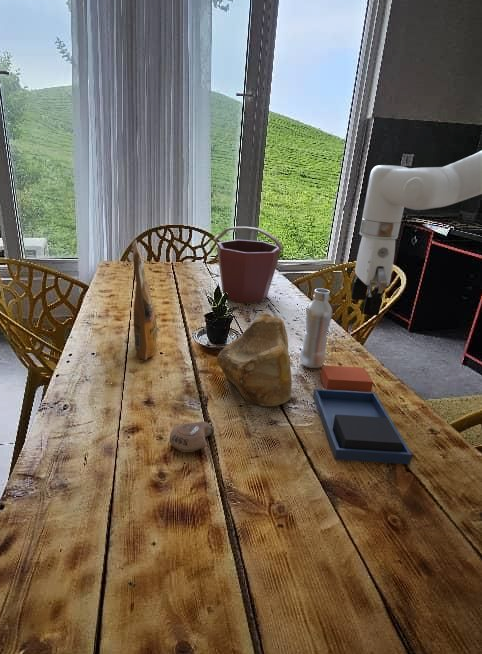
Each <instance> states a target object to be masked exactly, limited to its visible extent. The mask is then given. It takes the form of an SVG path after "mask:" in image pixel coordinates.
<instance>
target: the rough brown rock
mask: <svg viewBox="0 0 482 654" xmlns="http://www.w3.org/2000/svg"><path fill="white" fill-rule="evenodd" d="M216 364H217V365H218V367H220V369H221V370H222V372H223V374H224V376H225V377H226V379H228V381H229V382H231V383H232V384H233V385H234V386H235V388H236V389H237V390H238V391H239V393H240V394H241V396H242V398H243V399H244V400H245V401H246V402H247V403H249V404H250V405H254V404H256V405H258V406H261V407H278V406H280V405H283V404H285V403H287V402H289V400H290V399H291V396H292V368H291V358H290V353H289V338H288V334H287V329H286V325H285V322H284V321H283V320H282V318H280V317H278V316H274V315H273V316H271V315H270V314H268V313H267V312H261V313H259V314H258V315H257V316H256V318H255V319H254V320H253V321H252V323H250V325H249V327H247V328H246V330H244V331H243V333H242V334H241V335H240V336H239V337H238V338H236V339H235V340H233V341H232V342H230V343H228V344H227V345H225V346H224V347H223V349H221V351H219V353H218V355H217V357H216Z"/></svg>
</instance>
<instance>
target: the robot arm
mask: <svg viewBox="0 0 482 654" xmlns="http://www.w3.org/2000/svg"><path fill="white" fill-rule="evenodd" d="M480 195H482V150H480V151H477V152H476V153H474V154H472V155H469V156H467V157H464V158H462V159H459V160H457V161H455V162H452V163H449V164H447V165H444V166H439V167H438V166H433V167H432V166H430V167H429V166H427V167H426V166H425V167H424V166H423V167H413V168H412V167H407V166H402V165H389V164H380V165H375V166H374V167H373V168H372V169H371V171H370V174H369V179H368V184H367V189H366V196H365V199H364V206H363V211H362V216H361V217H362V219H361V222H360V226H359V227H360V228H359V233H358V234H359V235H360V236H361V240H360V243H359V248H358V252H357V256H356V263H355V267H354V273H355V275H354V278H353V285H352V289H351V296H350V298H351V300H354V301H355V300H357V301H364V304H363V309H362V314H363V315H364V316H379V315H380V311H381V306H382V301H383V298H384V294H385V292H386V288H387V287H389V286H390V283H391V278H392V274H393V265H394V261H395V252H396V240H397V239H398V238H399V233H400V228H401V224H402V219H403V214H404V209H405V208H406V209H409V210H414V211H424V210H425V211H426V210H431V209H437V208H438V209H439V208H443V207H448V206H450V205H451V206H452V205H454V204H457V203H461V202H463V201H466V200H469V199H472V198H474V197H477V196H480Z"/></svg>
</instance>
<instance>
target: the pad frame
mask: <svg viewBox="0 0 482 654" xmlns="http://www.w3.org/2000/svg"><path fill="white" fill-rule="evenodd" d="M312 395H313V396H312V398H313V401H314V403H315V407H316V409H317V412H318V415H319V418H320V420H321V424H322V427H323V429H324V430H323V431H324V432H325V435H326V438H327V441H328V444H329V448H330V449H331V450H330V451H331V453H332V456H333V457H334V460H339V461H353V462H354V461H355V462H368V463H382V464H383V463H385V464H400V465H410V464H411V463H412V458H413V453H412V451H411V450H410V449H409V447H408V445H407V444H406V442H405V440H404V438H403V437H402V436H401V434H400V432H399V430H398V428H397V426H396V425H395V423H394V421H393V420H392V418H391V417H390V415H389V414H388V412H387V410H386V408H385V407H384V405H383V404H382V402H381V401H380V399H379V397H378V395H377V394H376V392H375V391H374V392H373V391H371V392H358V391H342V390H326V389H325V388H314V389H313V394H312ZM335 414H337V415H353V416H369V417H385V418H388V420H389V421H390V423H391V425H392V426H393V428H394V430H395V431H396V433H397V435H398V437H399V438H400V440H401V442H402V447H401V451H400V452H391V451H376V450H360V449H345V448H339V445H338V442H337V440H336V437H335V434H334V432H333V424H334V419H335Z"/></svg>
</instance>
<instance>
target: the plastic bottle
mask: <svg viewBox="0 0 482 654" xmlns="http://www.w3.org/2000/svg"><path fill="white" fill-rule="evenodd" d="M330 294H331V291H330V290H329V289H327V288H316V289H314V293H313V296H312V298H313V299H312V300H311V301H310V303H308V305H307V306H306V309H305V333H304V338H303V341H302V346H301V349H300V351H299V361H300V362H301V364H302V365H303V366H304V367H307V368H310V369H319V368H322V365H324V364H325V361H326V359H327V358H326V357H327V350H326V346H327V337H328V332H329V327H330V324H331V321H332V317H333V308H332V306H331V304H330V302H329V300H330V299H331V298H330Z"/></svg>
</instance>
